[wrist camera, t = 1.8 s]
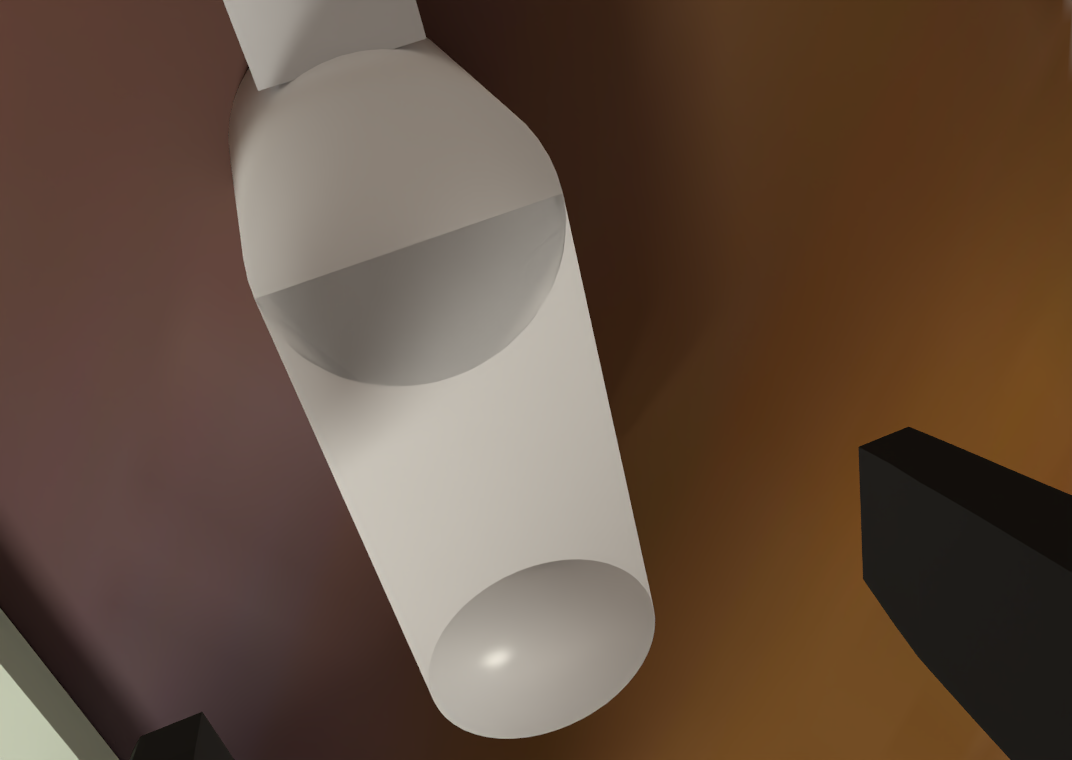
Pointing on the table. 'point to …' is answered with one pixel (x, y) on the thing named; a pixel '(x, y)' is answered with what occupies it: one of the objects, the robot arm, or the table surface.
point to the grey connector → (441, 356)
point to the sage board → (39, 709)
